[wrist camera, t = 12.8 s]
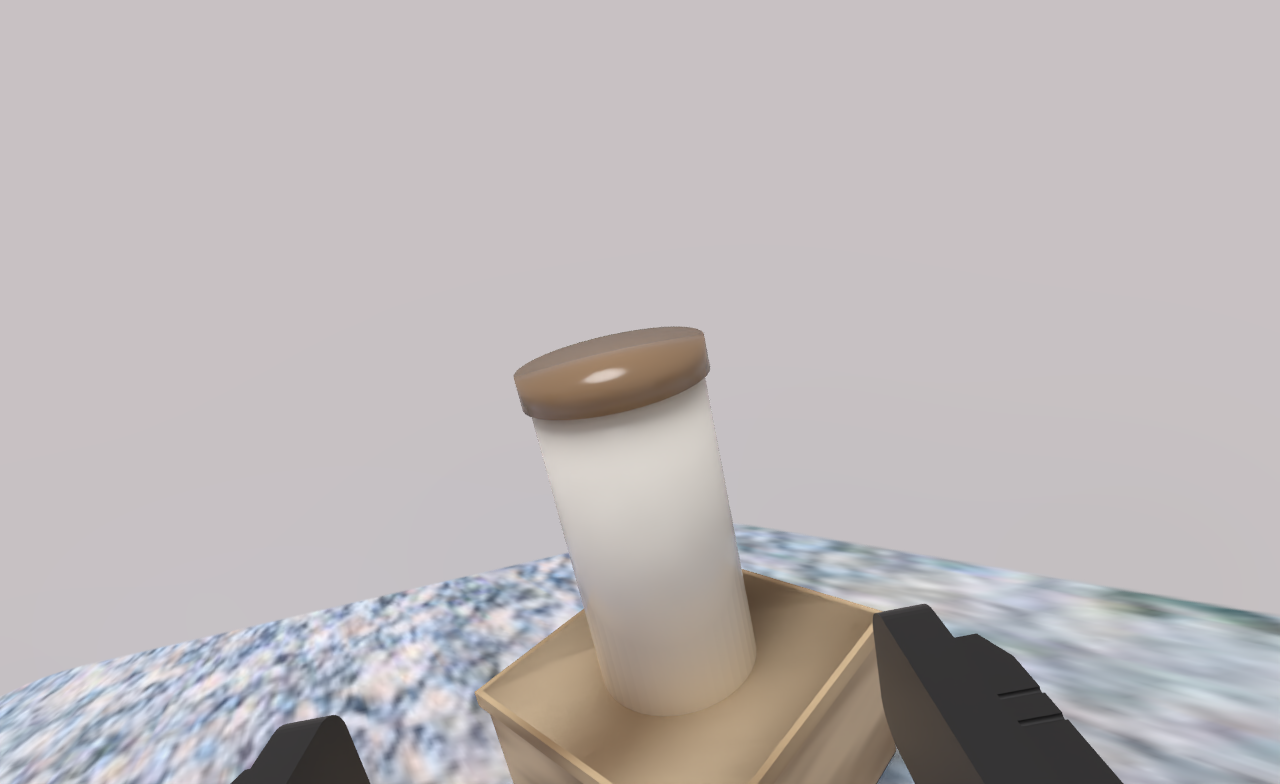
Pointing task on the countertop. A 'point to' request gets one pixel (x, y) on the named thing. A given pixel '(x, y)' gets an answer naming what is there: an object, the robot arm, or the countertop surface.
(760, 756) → the oak box
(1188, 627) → the countertop surface
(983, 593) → the countertop surface
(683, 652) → the cream jar
